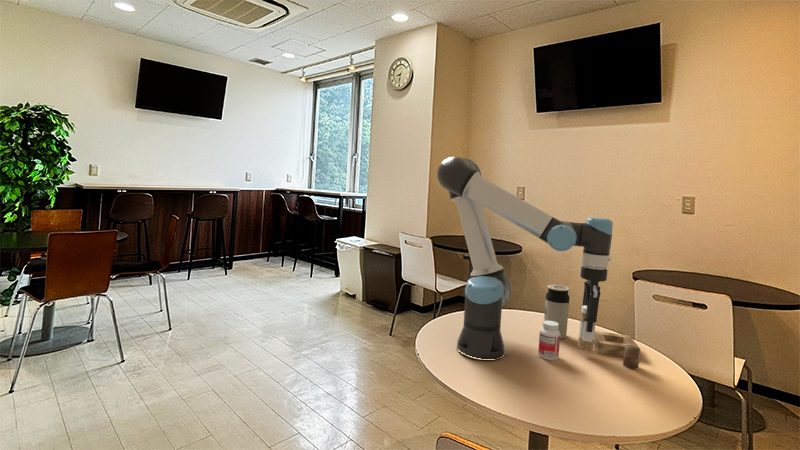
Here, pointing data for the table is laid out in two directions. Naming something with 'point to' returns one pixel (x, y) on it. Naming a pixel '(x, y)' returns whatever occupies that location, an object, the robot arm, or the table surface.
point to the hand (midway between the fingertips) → (586, 337)
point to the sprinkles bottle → (581, 343)
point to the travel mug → (557, 307)
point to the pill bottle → (549, 340)
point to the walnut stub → (631, 356)
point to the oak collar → (612, 343)
